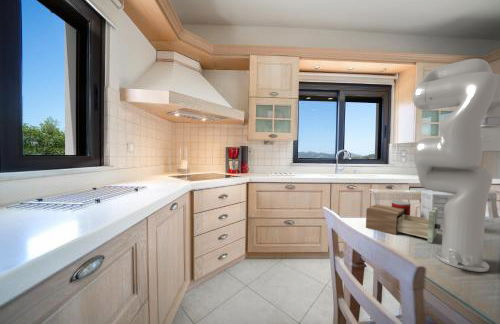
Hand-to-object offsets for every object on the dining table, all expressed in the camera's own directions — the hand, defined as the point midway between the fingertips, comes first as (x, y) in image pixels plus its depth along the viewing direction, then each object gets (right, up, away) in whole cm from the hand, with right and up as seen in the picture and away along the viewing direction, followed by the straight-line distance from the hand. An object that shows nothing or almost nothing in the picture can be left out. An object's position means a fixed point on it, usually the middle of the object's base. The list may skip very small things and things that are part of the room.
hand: (484, 166), depth 86 cm
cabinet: (-30, -29, +16) cm, 45 cm away
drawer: (-21, -29, +7) cm, 37 cm away
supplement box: (-5, -30, +18) cm, 35 cm away
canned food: (-19, -29, +22) cm, 41 cm away
